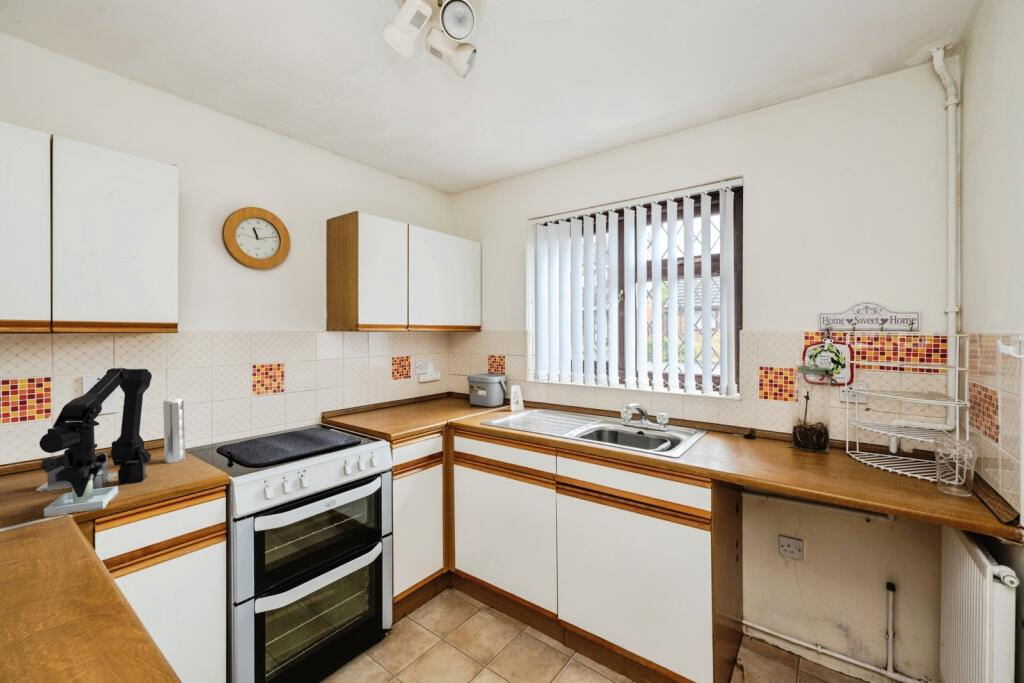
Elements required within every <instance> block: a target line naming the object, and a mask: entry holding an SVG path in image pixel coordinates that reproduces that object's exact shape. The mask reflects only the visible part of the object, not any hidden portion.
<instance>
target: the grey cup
mask: <svg viewBox="0 0 1024 683" xmlns="http://www.w3.org/2000/svg"><path fill="white" fill-rule="evenodd" d="M102 474H103V470H99V472H98V474H97V476H96V478H95V480H94V482H93V489H100V488H103V483H102Z"/></svg>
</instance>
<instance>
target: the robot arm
mask: <svg viewBox="0 0 1024 683" xmlns="http://www.w3.org/2000/svg"><path fill="white" fill-rule="evenodd" d="M152 376H153V375H152V373H151V372H150V371H149V370H148V369H147V368H126V367H113V368H108V369H107V370H106V373H105V375H103V376H102V377H101V379H99V380H98V381H97V382H96V383H95V384H94V385H93V386H92V387H91V388H90V389H89V390H88V391H87V392H86V393H84V394H83V395H81V396H78V397H76V398H73V399H72V400H70V401H69V402H68V403H66V404H65V405H64V406H63V407H62V409H61V410H60V413H59V414H58V416H57V418H56V420H55V422H54V423H53V425H52V427H51V428H48V429H47V433H45V434H44V435H43V436H42V437H41V438H40V440H39V448H40V449H41V450H42V451H43V452H45V453H47V454H53V453H57V452H60V451H63V453H62V454H59V455H56V456H54V457H53V456H49V457H48V458H44V459H42V460H41V463H40V464H39V466H40V467H39V470H43V471H44V473H45V474H47V473H48V472H50V471H51V470H54V469H56V468H59V467H62V466H64V468H63V469H62V470H60V471H59V472H58V473H57V474H55V481H68V482H70V483H71V485H72V487H73V488H72V487H71V488H72V490H73V489H74V491H75V493H76V495H77V497H82V496H83V495H84V492H85V490H86V487H87V485H88V482H89V480H90V477H91V475H92V474H93V482H94V480H95V478H96V476H97V474H98V472H99V470H100V468H101V467H102V465H98V466H96V464H94V463H95V462H100V463H104V462H106V455H104V454H103V453H104V452H102V453H101V452H100V453H96V448H98V443H96V441H95V427H97V426H99V425H100V422H98V421H96V420H95V419H96V418H98V416H99V414H100V413H101V411H103V407H102V406H103V405H102V404H103V403H104V402H105V401H106V400H107V398H109V396H110V395H111V394H112V393H114V391H115V390H116V389H117V388H119V387H120V389H121V390H122V392H123V393H124V397H123V406H122V407H123V408H122V418H121V428H120V436H118V438H117V439H116V440H113V441H112V442H111V450H110V457H111V459H112V462H113V465H114V467H116V466H119V469H118V470H117V477H118V478H117V479H118V480H117V481H118V485H126V484H125V483H127V484H133V482H135V483H141V481H142V482H143V481H144V480H146V478H147V477H148V475H147V474H146V473H147V472H146V464H148V463H149V462H150V461H151V458H152V454H151V453H150V452H149V451H148V450H147V449H146V448H145V441H144V440H143V438H142V437H141V435H140V430H141V422H142V420H141V419H142V410H143V409H142V408H143V399H144V398H143V397H144V393H145V392H146V391H147V390H148V389H149V387H150V385H151V381H152V378H153V377H152ZM66 467H67V468H66Z"/></svg>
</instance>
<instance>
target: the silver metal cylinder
mask: <svg viewBox="0 0 1024 683" xmlns="http://www.w3.org/2000/svg"><path fill="white" fill-rule="evenodd" d="M184 402H185V400H182V398H170V399H169V398H168V399H165V400H163V403H162V406H163V437H164V438H163V440H164V441H163V442H164V463H166V462H167V464H173V462H174V463H179V462H183V461H184V460H186V441H185V440H186V439H185V436H186V434H185V408H184V407H185V406H184Z"/></svg>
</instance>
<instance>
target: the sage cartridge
mask: <svg viewBox="0 0 1024 683" xmlns="http://www.w3.org/2000/svg"><path fill="white" fill-rule="evenodd" d="M71 488H72V492H73V502H83V501H87V500H90V499H92V498H93V474H92V475H91V477H90V480H89V482H88V485H87V487H86V490H85V492H84V495H83V496H82V497H77V495H76V493H75V491H74V489H73V487H71Z"/></svg>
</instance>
